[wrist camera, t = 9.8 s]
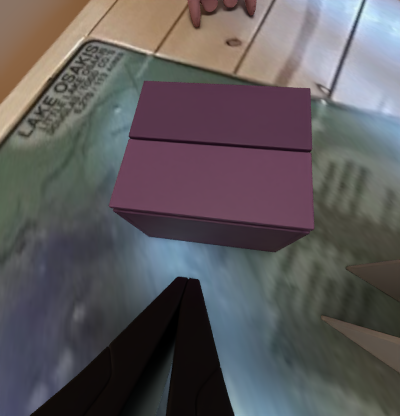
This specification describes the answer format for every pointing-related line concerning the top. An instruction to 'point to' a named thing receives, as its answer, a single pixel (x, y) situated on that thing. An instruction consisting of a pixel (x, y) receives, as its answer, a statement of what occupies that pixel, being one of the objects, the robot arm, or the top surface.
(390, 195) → the top surface
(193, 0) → the video game controller
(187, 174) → the flap
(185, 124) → the file box
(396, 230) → the top surface
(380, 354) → the brochure
